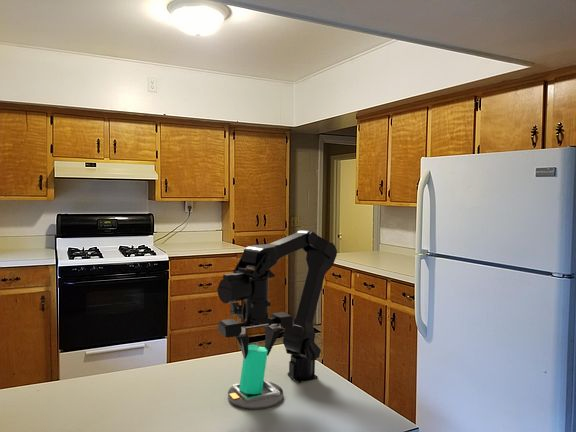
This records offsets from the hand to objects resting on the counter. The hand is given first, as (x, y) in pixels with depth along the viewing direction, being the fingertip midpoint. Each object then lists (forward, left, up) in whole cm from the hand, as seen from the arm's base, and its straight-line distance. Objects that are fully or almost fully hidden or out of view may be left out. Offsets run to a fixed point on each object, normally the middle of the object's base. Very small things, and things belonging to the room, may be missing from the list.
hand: (256, 357), depth 113 cm
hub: (0, 0, -10) cm, 10 cm away
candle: (+2, 0, -8) cm, 8 cm away
